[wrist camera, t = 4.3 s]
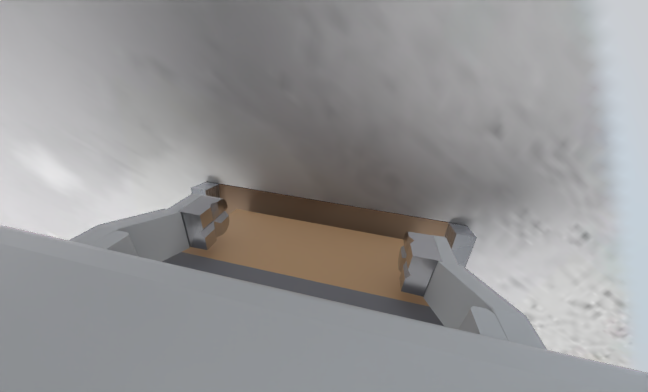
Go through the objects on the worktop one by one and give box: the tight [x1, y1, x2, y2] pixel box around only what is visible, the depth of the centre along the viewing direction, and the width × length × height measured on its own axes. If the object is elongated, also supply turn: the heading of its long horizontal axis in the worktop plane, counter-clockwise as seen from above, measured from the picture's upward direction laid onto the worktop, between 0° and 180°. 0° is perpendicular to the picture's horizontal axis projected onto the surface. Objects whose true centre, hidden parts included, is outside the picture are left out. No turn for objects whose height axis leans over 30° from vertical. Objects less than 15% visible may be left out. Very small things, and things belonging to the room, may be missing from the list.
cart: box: [162, 209, 444, 326], centre depth 13 cm, size 9×12×7 cm
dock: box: [191, 182, 477, 267], centre depth 19 cm, size 25×17×6 cm
